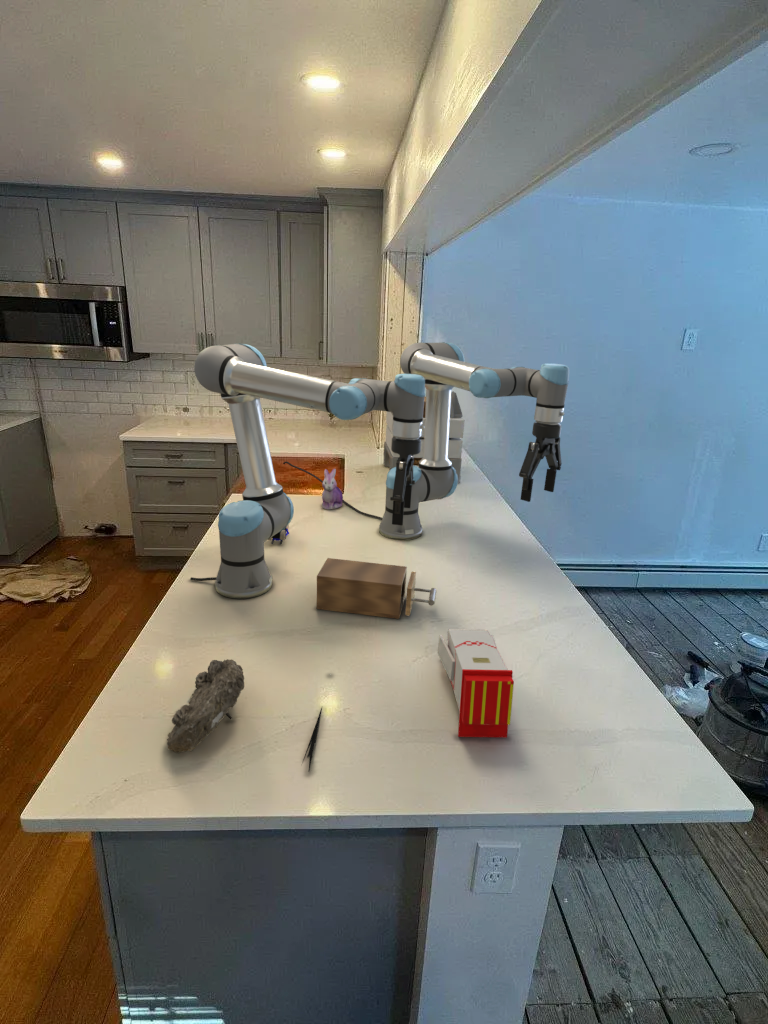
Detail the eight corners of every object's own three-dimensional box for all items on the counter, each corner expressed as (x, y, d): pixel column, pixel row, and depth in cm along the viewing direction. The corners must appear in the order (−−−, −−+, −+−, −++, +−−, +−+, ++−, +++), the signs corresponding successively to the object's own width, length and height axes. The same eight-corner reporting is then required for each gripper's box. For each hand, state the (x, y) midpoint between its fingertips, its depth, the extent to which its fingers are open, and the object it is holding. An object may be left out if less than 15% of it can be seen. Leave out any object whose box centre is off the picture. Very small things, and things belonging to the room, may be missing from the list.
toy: (488, 613, 130) (523, 677, 101) (484, 667, 133) (517, 744, 104) (435, 612, 130) (455, 676, 101) (432, 666, 133) (451, 743, 103)
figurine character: (286, 550, 185) (292, 529, 198) (285, 530, 182) (291, 509, 195) (265, 550, 185) (273, 528, 198) (264, 529, 181) (272, 509, 195)
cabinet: (404, 598, 156) (406, 566, 152) (399, 619, 145) (401, 585, 142) (327, 589, 159) (327, 557, 155) (316, 608, 148) (316, 575, 145)
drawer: (436, 599, 154) (438, 574, 151) (433, 618, 144) (435, 591, 142) (340, 588, 157) (341, 563, 155) (331, 606, 148) (332, 579, 145)
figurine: (325, 511, 218) (326, 473, 213) (316, 503, 226) (316, 467, 221) (348, 508, 222) (349, 471, 217) (337, 500, 231) (338, 465, 225)
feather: (331, 679, 122) (336, 673, 122) (307, 777, 96) (313, 769, 95) (324, 675, 122) (329, 669, 121) (298, 772, 95) (304, 764, 95)
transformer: (382, 463, 289) (386, 382, 275) (445, 464, 293) (451, 384, 279) (390, 482, 257) (394, 392, 243) (460, 483, 261) (468, 394, 247)
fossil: (192, 660, 117) (244, 628, 112) (224, 691, 120) (276, 661, 115) (142, 746, 98) (202, 712, 93) (182, 779, 101) (242, 748, 96)
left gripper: (414, 449, 131) (408, 534, 139) (427, 428, 154) (421, 502, 162) (382, 446, 132) (378, 530, 140) (399, 426, 156) (395, 499, 163)
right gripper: (537, 430, 145) (527, 508, 152) (580, 419, 162) (569, 490, 169) (512, 425, 149) (502, 501, 157) (556, 415, 167) (546, 484, 174)
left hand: (401, 515), depth 151 cm, fingers open, 13 cm apart
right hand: (537, 495), depth 163 cm, fingers open, 13 cm apart
